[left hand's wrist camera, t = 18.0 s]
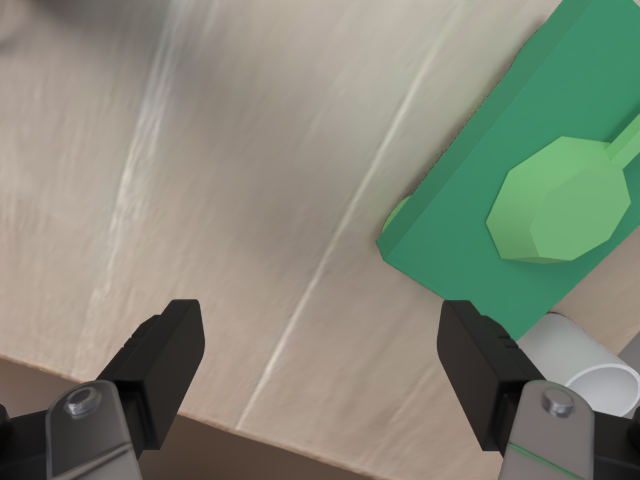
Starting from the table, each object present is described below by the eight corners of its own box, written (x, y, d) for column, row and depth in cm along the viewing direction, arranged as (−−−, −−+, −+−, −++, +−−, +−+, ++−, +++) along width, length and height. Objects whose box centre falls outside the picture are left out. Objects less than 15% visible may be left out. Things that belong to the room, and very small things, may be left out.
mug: (576, 302, 45) (646, 355, 35) (575, 356, 48) (639, 418, 39) (490, 320, 46) (536, 376, 36) (495, 371, 49) (538, 436, 40)
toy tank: (924, 18, 23) (535, 367, 34) (723, 46, 34) (479, 300, 45) (776, -185, 19) (391, 279, 30) (606, -78, 31) (371, 230, 41)
